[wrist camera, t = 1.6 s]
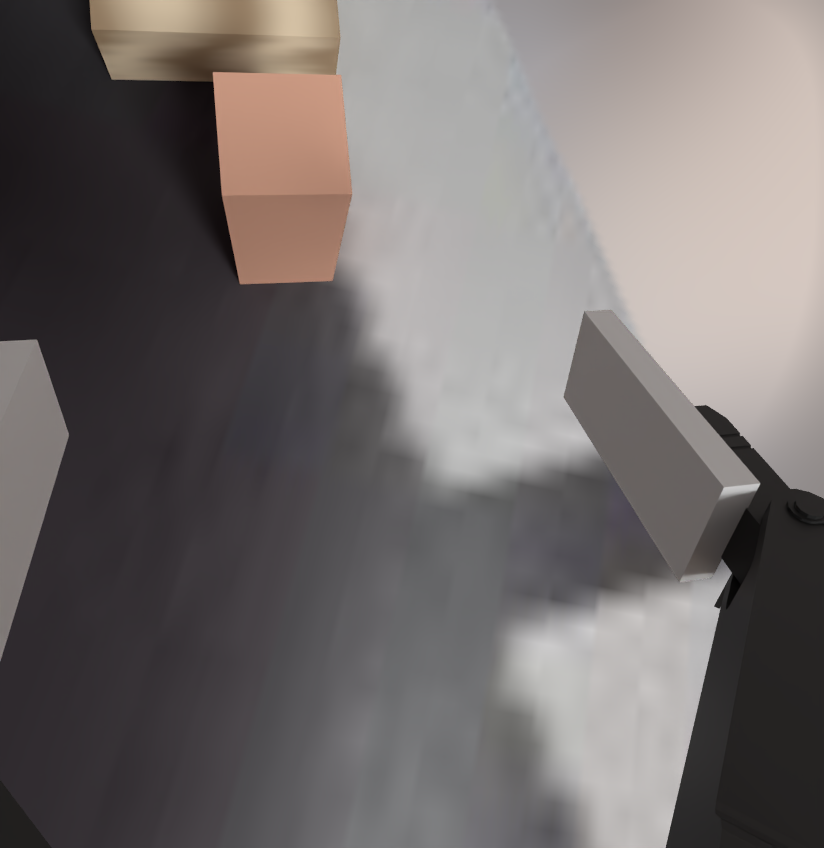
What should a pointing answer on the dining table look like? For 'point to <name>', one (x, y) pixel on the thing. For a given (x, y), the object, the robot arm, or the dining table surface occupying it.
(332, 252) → the block
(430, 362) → the dining table surface
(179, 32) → the plinth
